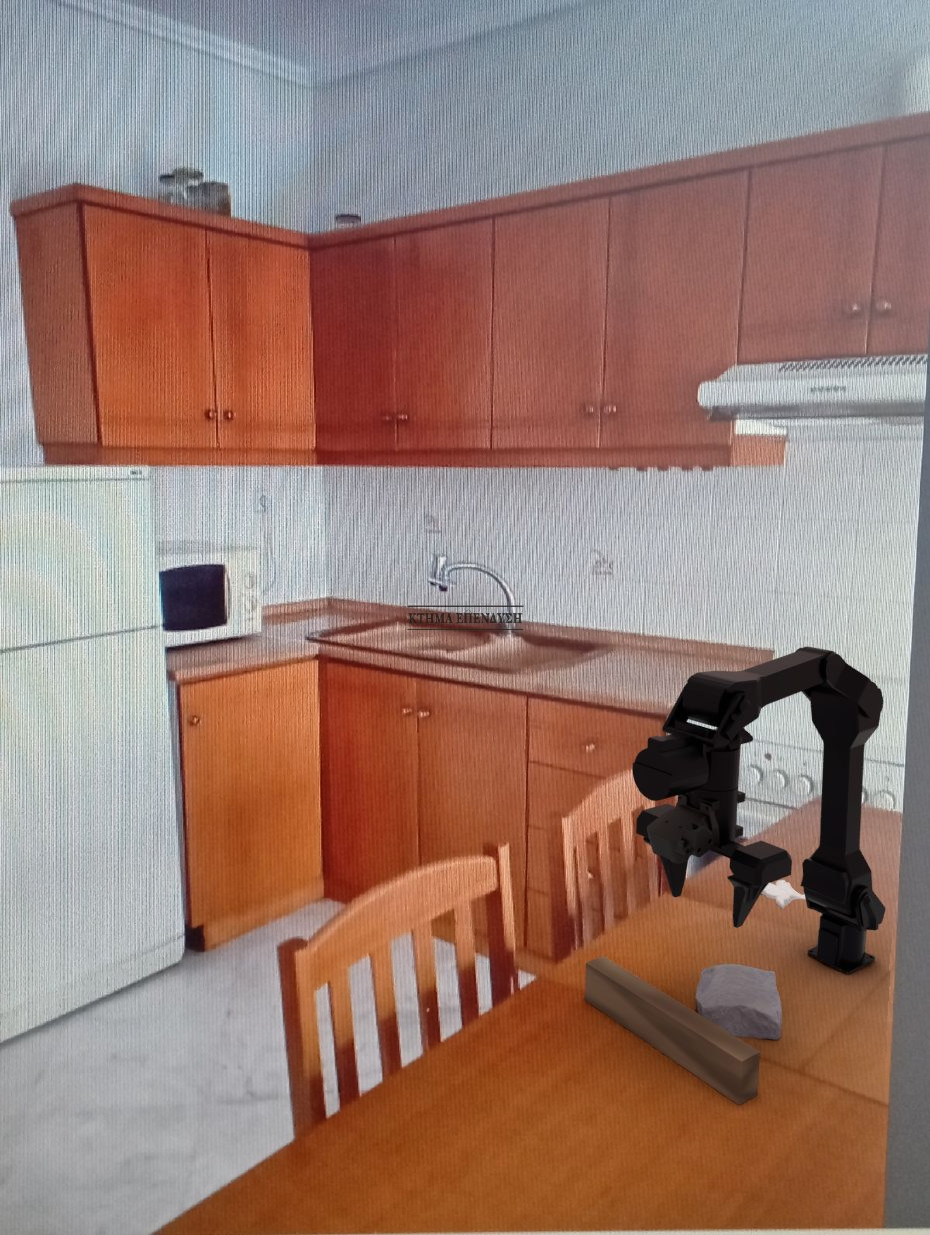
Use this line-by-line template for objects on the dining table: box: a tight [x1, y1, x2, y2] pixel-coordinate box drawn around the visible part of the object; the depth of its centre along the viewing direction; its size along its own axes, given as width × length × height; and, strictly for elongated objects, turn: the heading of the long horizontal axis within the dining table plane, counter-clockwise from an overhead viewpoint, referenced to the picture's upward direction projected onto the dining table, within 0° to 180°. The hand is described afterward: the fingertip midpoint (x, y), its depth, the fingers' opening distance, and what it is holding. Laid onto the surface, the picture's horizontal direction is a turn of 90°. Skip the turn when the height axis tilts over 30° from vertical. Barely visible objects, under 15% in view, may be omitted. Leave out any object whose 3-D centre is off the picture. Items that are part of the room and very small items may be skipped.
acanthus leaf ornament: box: [760, 879, 806, 909], centre depth 148 cm, size 8×7×2 cm
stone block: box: [695, 963, 783, 1041], centre depth 116 cm, size 12×5×10 cm
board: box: [584, 955, 761, 1106], centre depth 109 cm, size 3×24×5 cm, turn 35°
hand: (706, 910), depth 111 cm, fingers open, 9 cm apart
